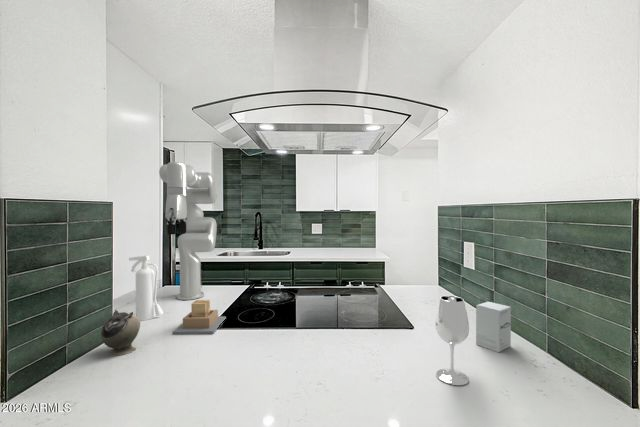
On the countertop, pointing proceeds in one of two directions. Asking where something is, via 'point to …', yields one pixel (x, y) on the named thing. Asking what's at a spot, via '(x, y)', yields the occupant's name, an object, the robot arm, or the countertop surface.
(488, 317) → the supplement box
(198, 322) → the base board
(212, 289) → the countertop surface
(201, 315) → the oak block
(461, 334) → the wineglass
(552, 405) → the countertop surface
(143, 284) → the fire extinguisher
